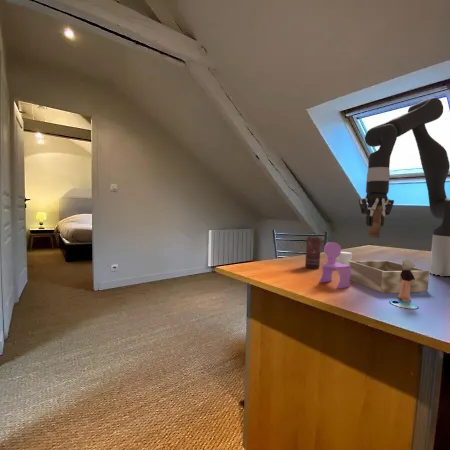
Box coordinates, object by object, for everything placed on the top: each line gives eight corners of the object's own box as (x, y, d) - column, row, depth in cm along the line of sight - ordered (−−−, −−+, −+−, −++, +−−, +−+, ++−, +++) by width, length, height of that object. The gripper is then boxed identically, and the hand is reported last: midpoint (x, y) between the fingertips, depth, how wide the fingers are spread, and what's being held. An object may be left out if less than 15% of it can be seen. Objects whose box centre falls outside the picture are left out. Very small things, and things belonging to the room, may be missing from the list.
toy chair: (336, 289, 96) (339, 245, 95) (316, 282, 103) (319, 241, 102) (352, 286, 99) (355, 244, 98) (332, 280, 107) (335, 241, 106)
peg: (374, 236, 110) (376, 205, 109) (382, 237, 106) (384, 205, 106) (365, 236, 110) (367, 205, 109) (373, 237, 106) (375, 205, 105)
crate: (386, 277, 115) (388, 260, 114) (427, 291, 97) (429, 271, 97) (347, 278, 111) (348, 261, 110) (382, 293, 93) (384, 272, 93)
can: (320, 269, 126) (322, 238, 125) (305, 268, 127) (307, 237, 126) (319, 266, 132) (320, 236, 131) (304, 265, 133) (306, 235, 132)
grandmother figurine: (390, 295, 90) (393, 256, 89) (401, 296, 91) (404, 256, 90) (407, 304, 83) (411, 261, 82) (420, 304, 83) (423, 261, 82)
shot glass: (350, 266, 135) (351, 251, 134) (352, 269, 128) (353, 254, 128) (335, 265, 137) (336, 250, 137) (335, 267, 131) (336, 252, 130)
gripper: (386, 182, 112) (383, 225, 113) (354, 180, 109) (351, 225, 110) (402, 180, 104) (398, 227, 105) (368, 178, 101) (364, 226, 103)
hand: (374, 226), depth 108 cm, fingers closed on peg, 4 cm apart
